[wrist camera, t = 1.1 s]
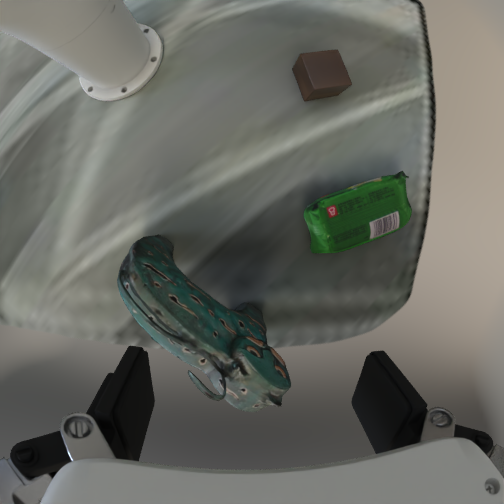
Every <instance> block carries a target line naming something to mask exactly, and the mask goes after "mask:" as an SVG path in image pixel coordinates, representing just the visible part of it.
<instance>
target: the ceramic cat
mask: <svg viewBox="0 0 504 504" xmlns="http://www.w3.org/2000/svg"><path fill="white" fill-rule="evenodd" d="M172 252H173V245H172V244H171V243H170V242H169V241H168V240H167V239H166V238H165V237H163V236H161V235H155V236H148V237H143V238H141V239H140V240H138V241H136V242H135V243H134V244H133V245H132V246H131V248H130V250H129V253H128V255H127V256H126V257H125V259H124V261H123V263H122V264H121V267H120V270H119V275H118V279H117V282H118V288H119V292H120V294H121V297H122V299H123V301H124V302H125V304H126V306H127V308H128V309H129V311H130V313H131V314H132V316H133V317H134V318H135V320H136V321H137V322H138V324H139V325H140V326H141V327H142V328H143V329H144V330H146V332H147V333H148V334H149V335H150V336H151V338H152V339H153V340H154V341H156V342H157V343H159V344H160V345H162V346H163V347H164V348H165V349H167V350H168V351H169V352H171V353H172V354H173V355H175V356H177V357H178V358H179V359H181V360H182V361H184V362H186V363H188V364H189V365H191V366H193V367H196V368H198V369H200V370H201V371H203V372H204V373H205V374H206V375H207V376H208V377H209V379H210V381H211V382H212V384H213V385H214V387H215V388H216V389H217V391H218V392H219V393H220V395H216V394H213V393H212V392H211V391H210V390H209V389H208V388H206V387H205V386H204V384H202V382H201V381H200V380H199V379H198V378H197V377H196V376H195V375H194V374H193V373H192V372H190V371H188V375H189V377H190V378H191V380H192V381H193V382H194V384H195V385H196V386H197V388H198V389H199V390H200V391H201V392H202V393H203V394H204V395H206V396H207V397H209V398H210V399H213V400H217V401H219V400H222V399H223V398H224V399H225V400H226V401H227V402H228V403H230V404H231V405H232V406H234V407H236V408H237V409H240V410H243V411H248V412H257V411H259V410H261V409H263V408H265V407H266V406H268V405H273V406H276V407H279V406H281V404H282V403H281V402H282V396H283V395H284V394H285V393H286V392H287V391H288V390H289V388H290V387H291V382H290V378H289V374H288V371H287V369H286V365H285V362H284V361H283V359H282V358H281V356H279V355H278V353H277V352H276V351H275V350H274V349H273V348H272V347H270V346H268V345H267V338H266V331H267V329H266V326H265V323H264V321H263V316H262V313H261V312H260V311H258V310H257V309H256V308H255V307H253V306H252V305H251V304H249V303H247V302H246V303H243V304H241V305H240V306H239V307H238V308H237V309H236V310H235V311H234V310H230V309H228V308H226V307H224V306H223V305H221V304H220V303H219V302H217V301H216V300H215V299H213V298H212V297H211V296H210V295H208V294H207V293H206V292H204V291H203V290H202V289H201V288H199V287H198V286H197V285H195V284H194V283H192V282H191V281H190V280H189V279H188V278H187V277H186V276H185V275H184V274H183V273H182V272H181V271H180V270H179V268H178V267H177V266H176V265H175V263H174V260H173V253H172Z"/></svg>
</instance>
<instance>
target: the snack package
mask: <svg viewBox="0 0 504 504" xmlns="http://www.w3.org/2000/svg"><path fill="white" fill-rule="evenodd" d="M406 177H407V178H408V176H406V175H405V173H404V172H403V171H401V172H399V173H397V174H395V175H389V176H382V177H378V178H375V179H371V180H368V181H365V182H362V183H360V184H357V185H354V186H352V187H349V188H346V189H343V190H340V191H337V192H334V193H331V194H328V195H325V196H323V197H320V198H318V199H317V200H316V201H314V202H313V203H311V204H310V205H309V206H308V207H307V208H306V209H305V211H304V219H305V221H306V223H307V225H308V228H309V232H310V235H311V244H310V249H311V252H312V253H337V252H342V251H345V250H349V249H351V248H354V247H356V246H359V245H361V244H364V243H367V242H370V241H372V240H375V239H378V238H381V237H383V236H385V235H388V234H390V233H393V232H395V231H397V230H399V229H401V228H402V227H404V226H405V225H406V224H407V222H408V221H409V219H410V217H411V213H412V209H411V206H410V204H409V201H408V198H407V193H406Z"/></svg>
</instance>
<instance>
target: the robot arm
mask: <svg viewBox="0 0 504 504" xmlns="http://www.w3.org/2000/svg"><path fill="white" fill-rule="evenodd" d="M0 32H3V33H6V34H8V35H11V36H13V37H15V38H17V39H19V40H21V41H23V42H25V43H27V44H29V45H30V46H32V47H34V48H36V49H37V50H39V51H40V52H42V53H44V54H45V55H47V56H49V57H50V58H52V59H54V60H55V61H57V62H59V63H60V64H62V65H64V66H65V67H67V68H68V69H70V70H72V71H73V72H75V73H76V74H78V75H79V80H80V83H81V86H82V88H83V90H84V91H85V92H86V93H87V94H88V95H89V96H91V97H93V98H95V99H97V100H101V101H115V100H120V99H123V98H125V97H128V96H130V95H132V94H133V93H135V92H137V91H138V90H140V89H141V88H142V87H143V86H145V85H146V84H147V83H148V82H149V81H150V79H151V78H152V77H153V76H154V74H155V73H156V71H157V69H158V67H159V65H160V63H161V60H162V55H163V46H162V42H161V40H160V37H159V36H158V34H157V32H155V31H154V30H153V29H152V28H150V27H149V26H147V25H143V24H137V22H136V21H135V19H134V17H133V16H132V14H131V13H130V11H129V10H128V8H127V6H126V5H125V3H124V2H123V0H0ZM154 61H155V62H154ZM126 90H127V91H126ZM125 91H126V92H125ZM154 402H155V400H154V392H153V387H152V380H151V373H150V366H149V358H148V353H147V351H144V350H143V348H142V347H136V346H129V347H128V348H127V350H126V352H125V354H124V355H123V357H122V359H121V361H120V363H119V365H118V366H117V368H116V370H115V372H114V373H109V374H108V375H107V376H106V378H105V380H104V381H103V383H102V385H101V387H100V389H99V391H98V392H97V394H96V396H95V398H94V400H93V402H92V404H91V406H90V407H89V409H88V411H87V413H86V414H85V413H79V412H77V413H71V414H69V415H67V416H65V417H64V418H63V419H62V421H61V423H60V431H57V432H54V433H51V434H47V435H44V436H40V437H37V438H33V439H30V440H26V441H22V442H20V443H17V444H16V445H15V446H14V447H13V448H12V450H11V453H10V458H8V459H5V458H4V457H3V458H2V459H0V504H38V503H40V502H41V504H504V448H503V447H501V446H499V445H498V444H496V445H495V446H493V440H492V438H491V437H490V436H489V435H488V434H486V433H485V432H482V431H478V430H474V429H471V428H467V427H463V426H459V425H456V424H455V417H454V415H453V414H452V413H451V412H450V411H449V410H447V409H444V408H441V407H434V408H431V409H430V410H429V411H428V410H427V409H426V407H427V404H426V402H425V401H424V400H423V399H422V397H421V396H420V395H419V394H418V392H417V391H416V390H415V388H414V387H413V386H412V385H411V383H410V382H409V381H408V380H407V378H406V377H405V376H404V375H403V374H402V372H401V371H400V370H399V369H398V367H397V366H396V365H395V364H394V362H393V361H392V360H391V359H390V358H389V356H388V355H387V354H386V353H385V352H384V351H374V352H371V353H370V354H369V355H368V356H367V357H366V359H365V363H364V366H363V369H362V372H361V375H360V378H359V381H358V384H357V386H356V389H355V392H354V395H353V398H352V406H353V408H354V410H355V412H356V414H357V416H358V418H359V420H360V422H361V424H362V426H363V428H364V430H365V432H366V434H367V436H368V438H369V441H370V443H371V445H372V446H373V448H374V451H375V453H376V454H375V455H370V456H366V457H361V458H356V459H352V460H347V461H340V462H334V463H328V464H321V465H314V466H305V467H295V468H283V469H265V470H218V469H201V468H189V467H178V466H169V465H161V464H154V463H147V462H139V458H140V454H141V450H142V446H143V443H144V439H145V435H146V432H147V428H148V425H149V421H150V418H151V414H152V411H153V407H154ZM42 497H43V499H42V501H40V500H39V499H41V498H42Z"/></svg>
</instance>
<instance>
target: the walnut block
mask: <svg viewBox="0 0 504 504" xmlns="http://www.w3.org/2000/svg"><path fill="white" fill-rule="evenodd" d="M292 70H293V72H294V75H295V77H296V80H297V83H298V85H299V88H300V91H301V93H302V96H303V99H304V101H309V100H314V99H320V98H325V97H331V96H337V95H339V94H340V93H342V92H343V91H344V90H346V89H347V88H348V87H349V86H351V85H352V83H351V80H350V77H349V75H348V72H347V70H346V68H345V65H344V63H343V60H342V58H341V56H340V54H339V51H338V50H328V51H319V52H311V53H303V54H300V55H299V57H298V59H297V61H296V63H295V65H294V67H293V68H292Z"/></svg>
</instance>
